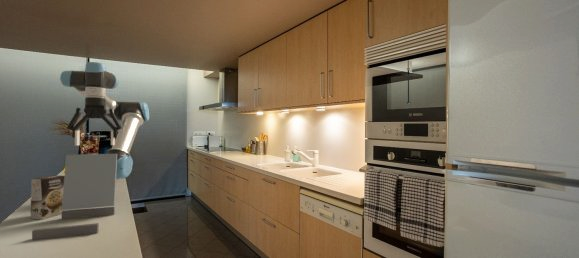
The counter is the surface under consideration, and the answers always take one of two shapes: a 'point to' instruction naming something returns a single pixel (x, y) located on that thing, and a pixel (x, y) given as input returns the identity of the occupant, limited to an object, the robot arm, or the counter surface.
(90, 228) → the rails
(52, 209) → the coffee box
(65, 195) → the panel
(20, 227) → the counter surface
